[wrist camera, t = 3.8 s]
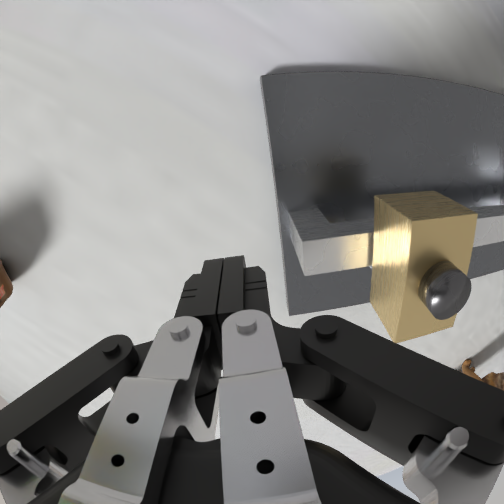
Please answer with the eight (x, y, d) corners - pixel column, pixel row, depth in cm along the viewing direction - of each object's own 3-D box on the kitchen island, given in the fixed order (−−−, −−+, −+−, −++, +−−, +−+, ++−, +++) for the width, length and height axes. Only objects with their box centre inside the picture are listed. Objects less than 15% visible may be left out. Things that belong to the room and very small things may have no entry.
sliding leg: (344, 176, 14) (429, 233, 7) (395, 173, 14) (495, 224, 7) (346, 264, 16) (403, 360, 9) (392, 256, 16) (464, 341, 9)
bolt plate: (259, 78, 13) (261, 75, 12) (547, 112, 12) (555, 113, 11) (287, 306, 19) (289, 317, 18) (534, 253, 18) (541, 258, 17)
